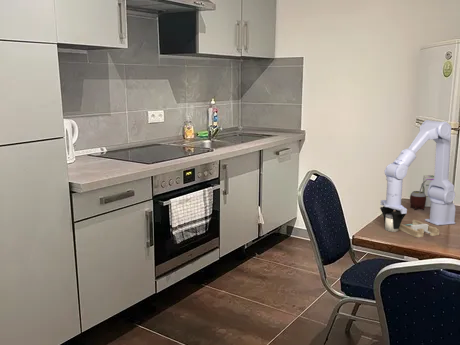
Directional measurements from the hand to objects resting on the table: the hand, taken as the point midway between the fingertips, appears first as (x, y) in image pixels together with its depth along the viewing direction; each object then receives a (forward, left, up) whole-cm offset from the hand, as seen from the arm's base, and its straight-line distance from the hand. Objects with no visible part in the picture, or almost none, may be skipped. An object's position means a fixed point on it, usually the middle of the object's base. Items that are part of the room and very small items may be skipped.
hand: (391, 226), depth 185 cm
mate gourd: (-31, -24, -2) cm, 40 cm away
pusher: (-8, +8, -1) cm, 12 cm away
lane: (-8, +4, -1) cm, 9 cm away
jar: (0, 0, -1) cm, 1 cm away
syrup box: (-40, -28, -2) cm, 50 cm away
